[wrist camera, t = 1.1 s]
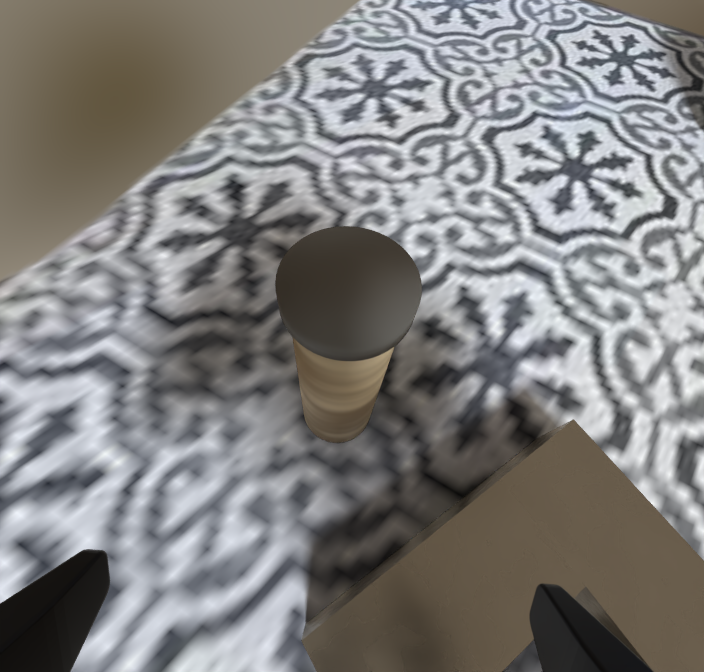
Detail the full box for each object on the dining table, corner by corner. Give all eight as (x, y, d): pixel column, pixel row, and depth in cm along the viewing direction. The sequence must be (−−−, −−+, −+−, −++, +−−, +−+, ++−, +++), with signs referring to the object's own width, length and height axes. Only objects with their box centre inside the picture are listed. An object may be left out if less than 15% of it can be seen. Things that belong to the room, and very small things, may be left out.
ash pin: (390, 420, 24) (451, 301, 13) (325, 464, 23) (326, 375, 11) (347, 360, 26) (367, 207, 14) (284, 398, 24) (249, 262, 13)
